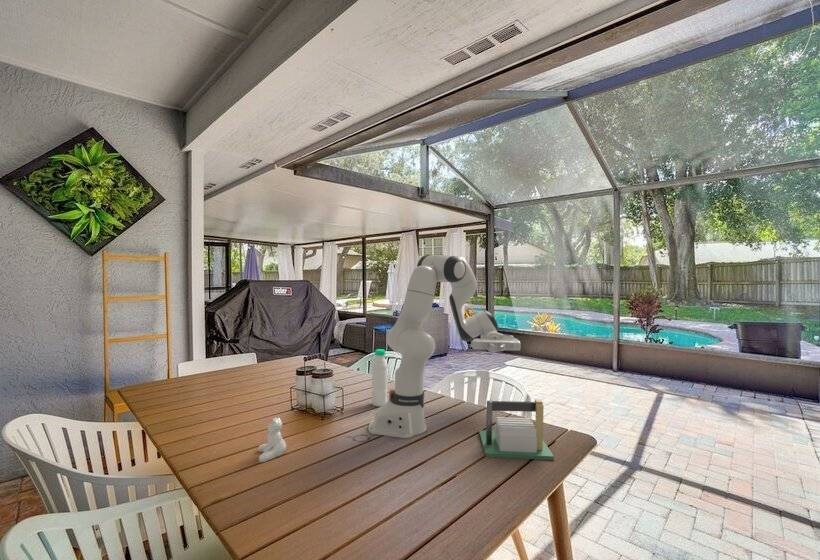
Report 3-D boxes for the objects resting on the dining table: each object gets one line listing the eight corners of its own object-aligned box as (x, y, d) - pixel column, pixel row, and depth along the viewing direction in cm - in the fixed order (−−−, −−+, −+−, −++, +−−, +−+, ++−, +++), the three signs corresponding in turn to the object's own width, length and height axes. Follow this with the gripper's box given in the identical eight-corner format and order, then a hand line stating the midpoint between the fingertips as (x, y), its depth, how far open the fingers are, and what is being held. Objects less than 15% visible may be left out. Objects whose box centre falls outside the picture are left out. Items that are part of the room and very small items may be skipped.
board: (485, 456, 123) (486, 405, 123) (479, 433, 141) (480, 388, 141) (553, 460, 121) (555, 407, 121) (538, 435, 139) (539, 390, 139)
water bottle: (384, 407, 166) (385, 351, 166) (369, 406, 168) (370, 350, 167) (388, 402, 173) (389, 348, 173) (374, 400, 175) (375, 347, 174)
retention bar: (486, 444, 129) (487, 402, 128) (485, 441, 131) (486, 400, 130) (538, 445, 129) (539, 403, 128) (536, 442, 131) (537, 401, 130)
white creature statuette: (258, 450, 125) (258, 414, 125) (285, 445, 128) (285, 411, 128) (258, 463, 116) (259, 425, 116) (287, 458, 120) (288, 421, 120)
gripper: (470, 334, 167) (473, 339, 153) (516, 335, 166) (524, 341, 152) (469, 348, 167) (473, 355, 154) (516, 349, 166) (523, 356, 152)
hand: (498, 348), depth 153 cm, fingers closed
